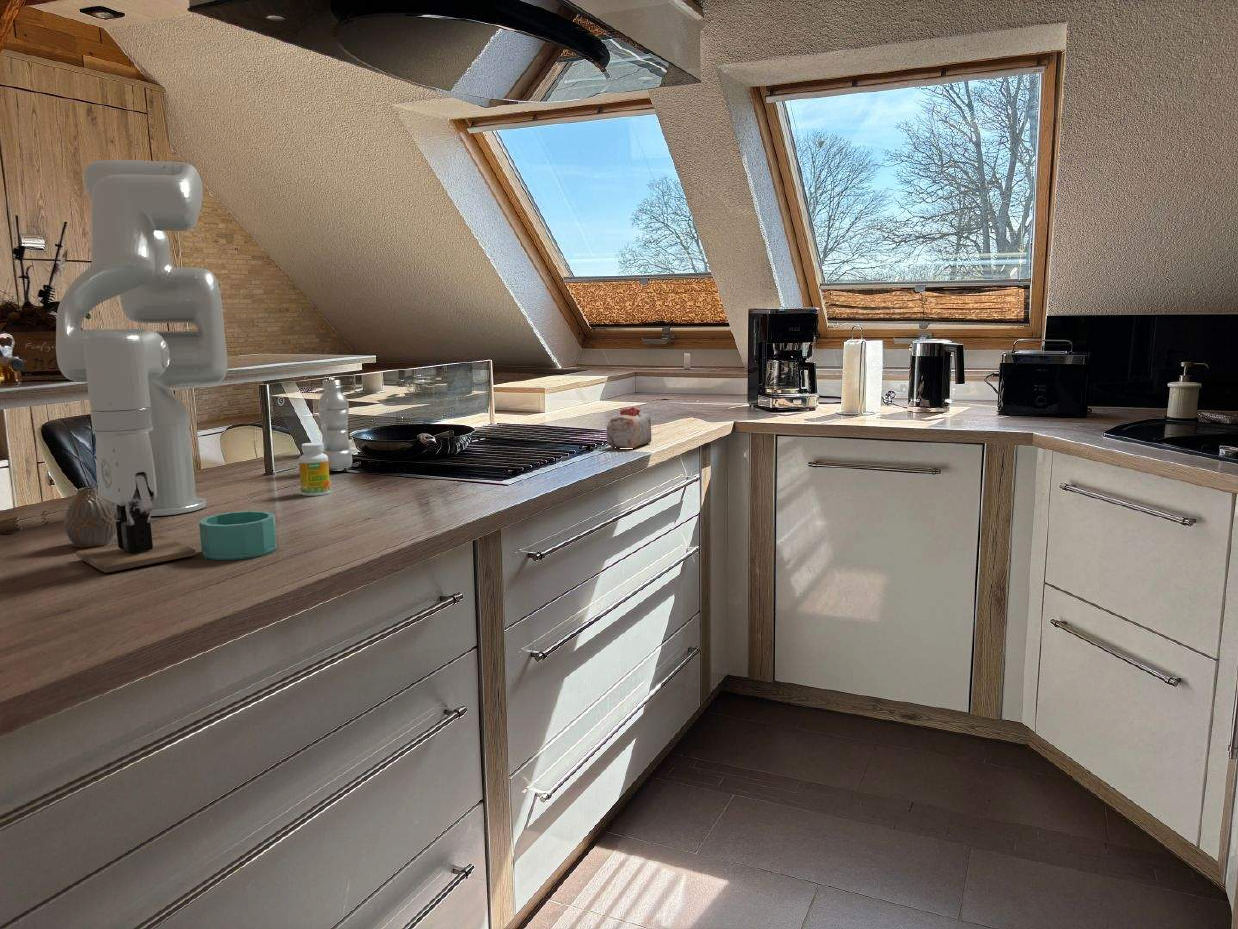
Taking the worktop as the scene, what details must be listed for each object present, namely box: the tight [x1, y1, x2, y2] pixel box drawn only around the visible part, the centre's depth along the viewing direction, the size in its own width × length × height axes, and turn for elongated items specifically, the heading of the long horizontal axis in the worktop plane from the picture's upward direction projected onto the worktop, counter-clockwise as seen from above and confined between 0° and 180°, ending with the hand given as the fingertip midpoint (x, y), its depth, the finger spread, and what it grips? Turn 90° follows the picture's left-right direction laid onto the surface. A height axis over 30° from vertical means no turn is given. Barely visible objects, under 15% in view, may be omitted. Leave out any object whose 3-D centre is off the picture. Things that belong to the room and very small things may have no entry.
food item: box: [606, 407, 652, 449], centre depth 238 cm, size 14×8×10 cm, turn 157°
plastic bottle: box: [317, 379, 353, 470], centre depth 207 cm, size 6×7×20 cm
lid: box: [75, 522, 197, 574], centre depth 135 cm, size 12×12×5 cm
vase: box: [63, 486, 117, 549], centre depth 144 cm, size 7×7×9 cm
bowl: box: [198, 510, 277, 561], centre depth 139 cm, size 10×10×5 cm
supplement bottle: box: [298, 442, 331, 497], centre depth 182 cm, size 5×5×10 cm
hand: (135, 547), depth 136 cm, fingers closed on lid, 3 cm apart
